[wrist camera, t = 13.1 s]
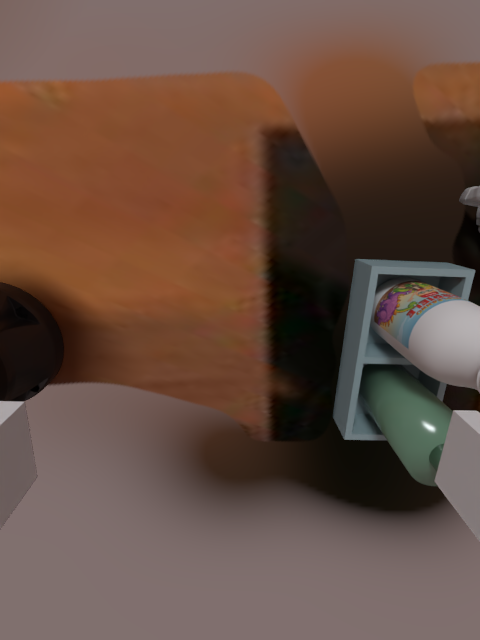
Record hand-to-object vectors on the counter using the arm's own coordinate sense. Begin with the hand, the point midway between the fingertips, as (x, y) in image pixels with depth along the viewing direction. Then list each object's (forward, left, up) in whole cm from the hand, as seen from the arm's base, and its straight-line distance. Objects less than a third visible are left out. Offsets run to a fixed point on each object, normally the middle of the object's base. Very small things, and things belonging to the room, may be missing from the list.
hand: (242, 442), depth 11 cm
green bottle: (+20, -14, -31) cm, 40 cm away
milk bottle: (+20, -4, -31) cm, 37 cm away
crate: (+20, -9, -32) cm, 39 cm away
